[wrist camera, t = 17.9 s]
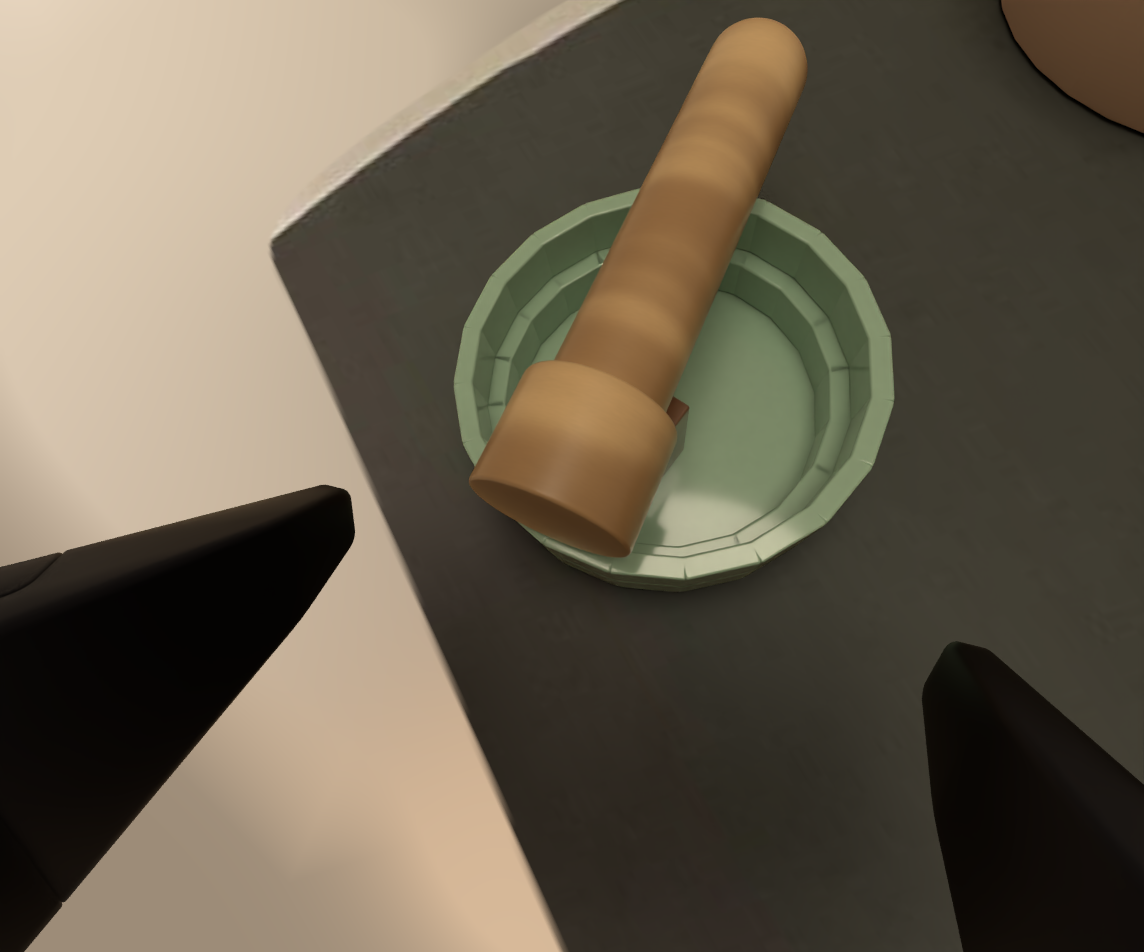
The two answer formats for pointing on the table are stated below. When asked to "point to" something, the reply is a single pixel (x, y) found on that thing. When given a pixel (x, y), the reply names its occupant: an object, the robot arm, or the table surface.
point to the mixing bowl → (709, 390)
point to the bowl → (1087, 51)
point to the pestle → (645, 309)
